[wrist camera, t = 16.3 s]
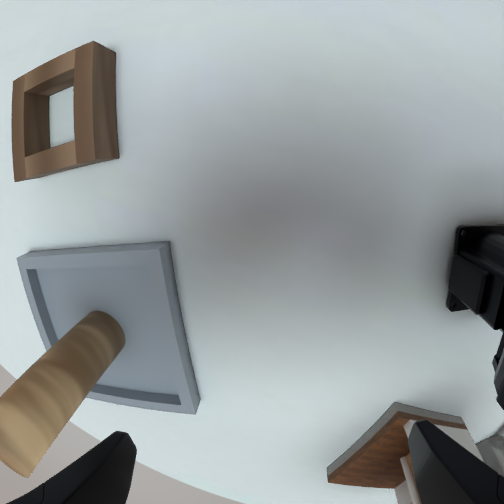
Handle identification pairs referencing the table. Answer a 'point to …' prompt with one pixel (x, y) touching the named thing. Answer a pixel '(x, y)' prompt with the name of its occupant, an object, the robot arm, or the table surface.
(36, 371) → the oak dowel
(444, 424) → the spiral staircase model
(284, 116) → the table surface
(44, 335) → the plastic tray
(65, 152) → the walnut holder
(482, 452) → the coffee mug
